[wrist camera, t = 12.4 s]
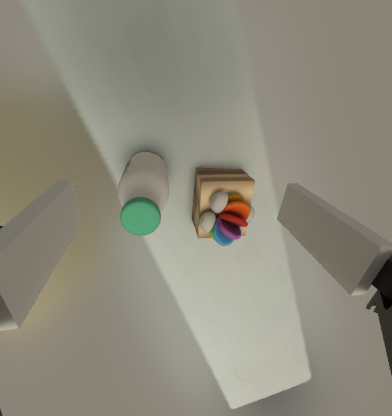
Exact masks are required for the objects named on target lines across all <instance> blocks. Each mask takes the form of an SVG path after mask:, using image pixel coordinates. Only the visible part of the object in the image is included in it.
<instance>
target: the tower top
mask: <svg viewBox="0 0 392 416" xmlns="http://www.w3.org/2000/svg"><path fill="white" fill-rule="evenodd" d="M254 184H255V180H253V179H252V178H251V177H250V176H248V175H247V174H217V175H198V178H197V198H196V218H195V229H196V233H197V236H198V238H212V237H211V236H210V234H209V232H208V233H206V232H204V231H203V230H202V229H201V228H200V225H199V220H200V218H201V216H202V215H203V214H204V213H206V212H214V211H213V210H212V208H211V206H210V201H211V198H212V197H213V195H214V194H216V193H218V192H226V193H227V194H228V196H229V195H231V194H240V195H242V196H243V197H244V199H245V202H246V203H248V204H250V205H251V201H252V195H253V190H254ZM214 213H215V212H214ZM219 214H220V213H215V215H218V216H219ZM246 228H247V227H242V230H243V231H242V235H241V236H244V235H245V234H246Z"/></svg>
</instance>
